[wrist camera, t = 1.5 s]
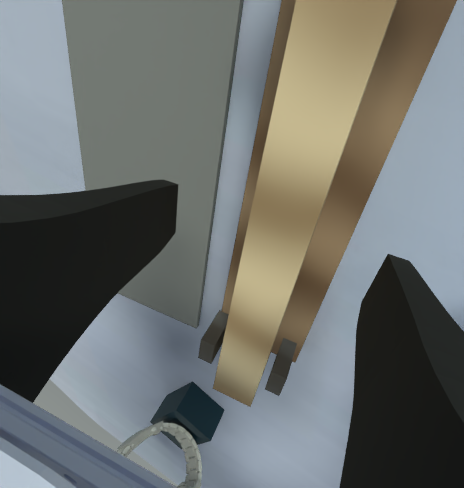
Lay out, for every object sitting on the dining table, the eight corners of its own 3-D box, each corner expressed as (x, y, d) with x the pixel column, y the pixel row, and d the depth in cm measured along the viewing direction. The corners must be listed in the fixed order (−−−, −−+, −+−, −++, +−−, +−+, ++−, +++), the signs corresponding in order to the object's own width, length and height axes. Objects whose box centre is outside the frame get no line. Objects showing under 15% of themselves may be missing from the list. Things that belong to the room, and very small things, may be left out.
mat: (198, 325, 26) (196, 328, 26) (100, 281, 29) (97, 284, 28) (292, -357, 9) (289, -371, 9) (29, -328, 12) (19, -339, 11)
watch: (208, 432, 35) (151, 559, 26) (154, 384, 34) (77, 498, 26) (239, 422, 32) (184, 564, 23) (179, 369, 31) (100, 494, 22)
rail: (262, 373, 20) (250, 406, 18) (228, 357, 21) (212, 388, 19) (507, -305, 6) (558, -451, 5) (386, -298, 7) (387, -426, 5)
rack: (298, 349, 23) (275, 429, 18) (224, 318, 25) (185, 384, 20) (563, -252, 8) (810, -665, 4) (339, -247, 10) (296, -537, 5)
